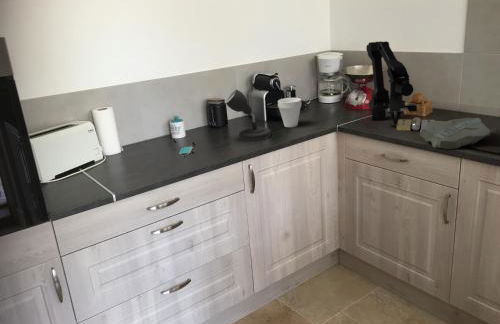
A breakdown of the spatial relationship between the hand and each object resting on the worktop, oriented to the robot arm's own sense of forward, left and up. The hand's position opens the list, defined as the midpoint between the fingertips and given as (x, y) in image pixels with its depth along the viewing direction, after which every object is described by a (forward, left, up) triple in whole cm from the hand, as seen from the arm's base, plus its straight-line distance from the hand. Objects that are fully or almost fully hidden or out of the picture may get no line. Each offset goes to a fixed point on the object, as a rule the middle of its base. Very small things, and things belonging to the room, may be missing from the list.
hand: (395, 124), depth 207 cm
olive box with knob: (+6, 0, -1) cm, 6 cm away
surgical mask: (-89, -47, -2) cm, 100 cm away
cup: (-53, 0, -2) cm, 53 cm away
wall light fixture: (-67, -23, -2) cm, 71 cm away
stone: (+26, -20, -2) cm, 33 cm away
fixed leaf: (+12, 0, -1) cm, 12 cm away
